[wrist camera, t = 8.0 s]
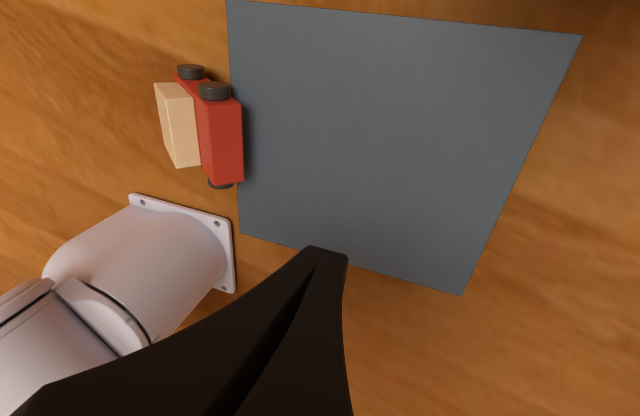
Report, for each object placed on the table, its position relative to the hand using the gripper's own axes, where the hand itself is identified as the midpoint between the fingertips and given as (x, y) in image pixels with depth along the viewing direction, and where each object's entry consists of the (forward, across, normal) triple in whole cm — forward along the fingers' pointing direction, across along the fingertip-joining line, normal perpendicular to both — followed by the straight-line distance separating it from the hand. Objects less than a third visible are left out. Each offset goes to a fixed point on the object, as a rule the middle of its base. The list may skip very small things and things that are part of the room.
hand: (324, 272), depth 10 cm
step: (+10, 0, -1) cm, 10 cm away
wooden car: (+8, +9, -1) cm, 12 cm away
